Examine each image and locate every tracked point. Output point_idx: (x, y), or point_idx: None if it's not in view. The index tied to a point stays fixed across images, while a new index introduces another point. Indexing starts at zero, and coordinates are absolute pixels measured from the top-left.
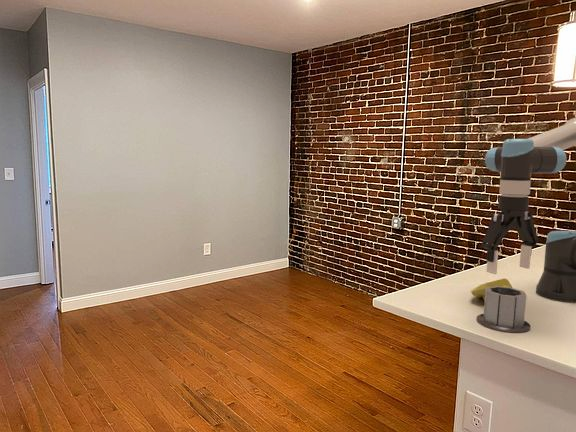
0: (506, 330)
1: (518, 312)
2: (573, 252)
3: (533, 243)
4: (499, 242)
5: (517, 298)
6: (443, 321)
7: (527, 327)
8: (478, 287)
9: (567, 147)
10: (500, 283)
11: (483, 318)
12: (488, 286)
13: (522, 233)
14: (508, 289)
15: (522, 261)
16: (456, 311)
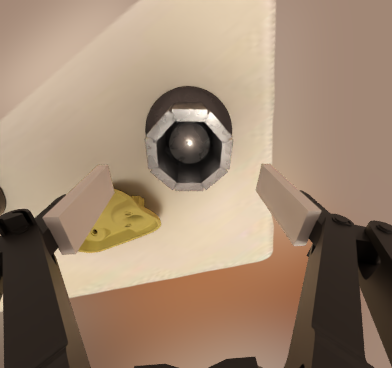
0: (221, 103)
1: (194, 105)
2: None
3: (12, 228)
4: (330, 246)
5: (204, 109)
6: None
7: (171, 95)
8: (116, 243)
9: None
10: None
11: None
12: (87, 245)
13: (66, 312)
14: (160, 167)
15: (105, 195)
16: (212, 198)
